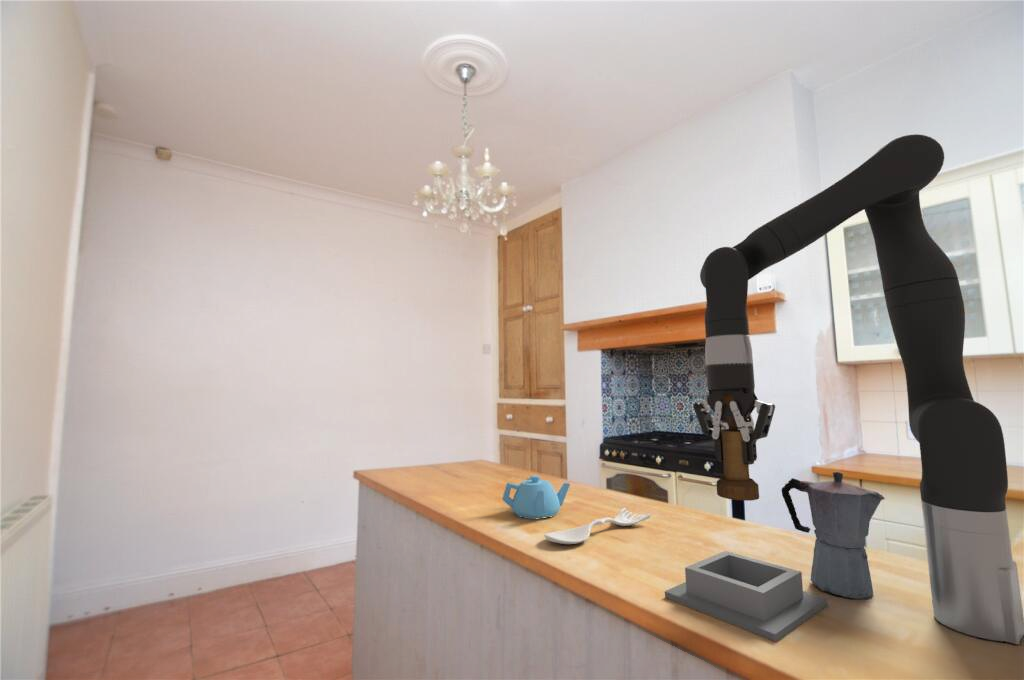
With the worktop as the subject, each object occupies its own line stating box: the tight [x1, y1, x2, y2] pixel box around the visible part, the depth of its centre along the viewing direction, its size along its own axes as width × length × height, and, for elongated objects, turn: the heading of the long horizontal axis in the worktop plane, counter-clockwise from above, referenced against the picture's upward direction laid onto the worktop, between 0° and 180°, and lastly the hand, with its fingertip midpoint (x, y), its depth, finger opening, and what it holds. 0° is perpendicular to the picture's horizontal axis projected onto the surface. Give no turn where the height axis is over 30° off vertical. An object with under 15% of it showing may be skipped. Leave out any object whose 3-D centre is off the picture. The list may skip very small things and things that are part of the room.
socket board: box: [664, 550, 828, 642], centre depth 78 cm, size 18×18×5 cm
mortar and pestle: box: [716, 392, 760, 502], centre depth 80 cm, size 7×6×18 cm
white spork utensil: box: [544, 507, 651, 546], centre depth 115 cm, size 9×32×4 cm, turn 128°
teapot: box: [502, 475, 571, 518], centre depth 135 cm, size 15×15×11 cm
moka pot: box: [780, 471, 886, 600], centre depth 83 cm, size 10×15×20 cm, turn 54°
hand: (735, 461), depth 80 cm, fingers closed on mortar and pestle, 4 cm apart
